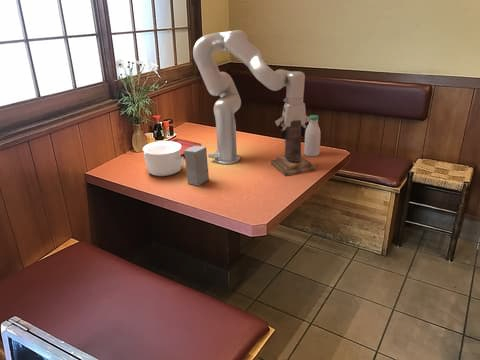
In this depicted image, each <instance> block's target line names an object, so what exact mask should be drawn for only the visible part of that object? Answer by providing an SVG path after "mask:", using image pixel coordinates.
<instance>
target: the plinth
mask: <svg viewBox="0 0 480 360" xmlns="http://www.w3.org/2000/svg"><path fill="white" fill-rule="evenodd" d="M270 164H271V166H273V167H274V168H275V169H276V170H277V171H279V172H280V173H281V174H282V175H283V176H285V177H287V176H293V175H298V174H299V175H300V174H304V173H310V172H316V171H317V166H316V165H314V164H313V163H311V161H310V160H308V159H306V158H305V157H304V156H302V155H301V160H300V161H289V160H287V159H286V158H285V155H283V156H278V157H276V158H275V159H274V160H273V159H272V160H270Z"/></svg>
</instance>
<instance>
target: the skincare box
mask: <svg viewBox="0 0 480 360" xmlns="http://www.w3.org/2000/svg"><path fill="white" fill-rule="evenodd" d="M207 153H208V152H207V146H202V145H201V146H196V145H195V146H193V147H190V148H188V149H186V150H184V154H185V156H184V163H185V169H186V170H185V171H186V180H187V184H189V185H194V186H197V187H200V186H201V185H203V184H205V182H208V181H209V179H210V177H209V174H210V173H209V165H208V154H207Z"/></svg>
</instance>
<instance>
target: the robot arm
mask: <svg viewBox="0 0 480 360" xmlns="http://www.w3.org/2000/svg"><path fill="white" fill-rule="evenodd" d="M226 51H228V52H229V53H231V54H232V55H233V56H234V57H235V58H236V59H238V60H239V61H240V62H242V64H244V65H245V66H246V67H247V68H248V69H249V71H250V72H251V73H252V75H253V76H254V77H255V78H256V80H257V81H259V82H260V83H261V84H262V85H264V87H266V88H267V89H269V90H270V91H275V92H276V91H280V90H281V89H282V88H285V87H286V96H285V98H284V99H283V102H284V103H283V104H284V105H283V110H282V114H281V117H280V118H278V119H277V120H275V125H276V126H277V128H278V129H279V130H280V132H279V137H281V139H282V140H285V129H286V127H290V125H291V122H293V121H299V120H301V138H302V137H303V138H305V132H306V128H307V126H308V124H309V122H310V120H311V118H310V117H309V116H308V115H307V114H306V103H305V102H304V96H305V95H304V93H305V81H306V80H305V79H306V75H305V73H304V72H303V71H299V70H298V71H295V70H293V71H290V70H286V69H282V68H281V69H275V71H274V70H273V69H272V68H271V67H270V66H268V64H267V63H266V62H265V61H264V59H263V56H262V52H261V51H260V49H258V48H257V47H256V46H255V45H253V43H252V42H250V41H249V37H248V35H247V34H246V32H245V31H243V30H240V29H235V30H228V31H220V32H219V31H217V32H212V33H209V34H206V35H203V36H201V37H200V38H198V39H197V40H196V42H195V44H194V46H193V48H192V57H193V60H194V62H195V64H196V66H197V69H198V71H199V72H200V76H201V78H202V80H203V83H204V85H205V87H206V90H207V91H208V93H209V94H210V95H211V96H214V97H220V98H218V99H217V100H216V101H215V103H214V104H213V105H214V106H213V114H214V119H215V130H216V145H217V146H216V147H217V148H216V149H217V150H215V152H214V153H208V154H207V158H209V159H212V160H214V161H215V162H216V163H218V164H221V165H231V164H236V163H238V162H239V161H240V159H241V156H240V155H239V154H238V152H237V149H238V147H237V125H236V118H235V113H236V112H237V111H238V110H239V109H240V108H241V106H242V100H241V97H240V94H239V91H238V89H237V87H236V84H235V82H234V80H233V78H232V76H231V75H230V74H229V73H227V72H225V71H220V68H219V67H218V65H217V63H216V61H215V59H214V58H213V56H212V55H213V54H216V53H219V52H226Z"/></svg>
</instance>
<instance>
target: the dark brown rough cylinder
mask: <svg viewBox="0 0 480 360" xmlns="http://www.w3.org/2000/svg"><path fill="white" fill-rule="evenodd" d="M284 144H285V145H284V151H285V152H284V156H285V158H286V159H287V160H289V161H300V160H301V156H302V136H301V120H299V121H293V122H291V125H290V127H286V129H285V139H284Z"/></svg>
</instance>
